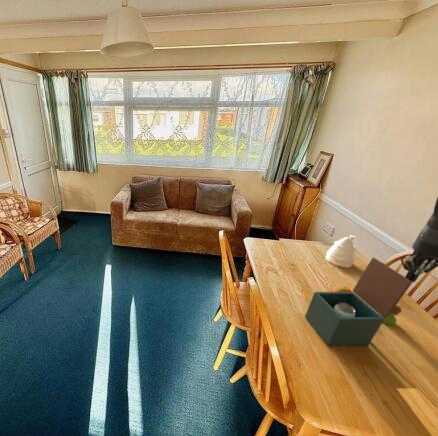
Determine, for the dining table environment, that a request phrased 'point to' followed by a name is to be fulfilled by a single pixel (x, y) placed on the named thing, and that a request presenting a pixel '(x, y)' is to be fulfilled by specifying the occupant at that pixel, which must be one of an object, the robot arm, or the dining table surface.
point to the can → (344, 310)
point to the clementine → (342, 289)
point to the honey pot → (342, 252)
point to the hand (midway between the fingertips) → (409, 280)
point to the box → (342, 319)
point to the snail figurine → (392, 316)
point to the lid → (381, 287)
